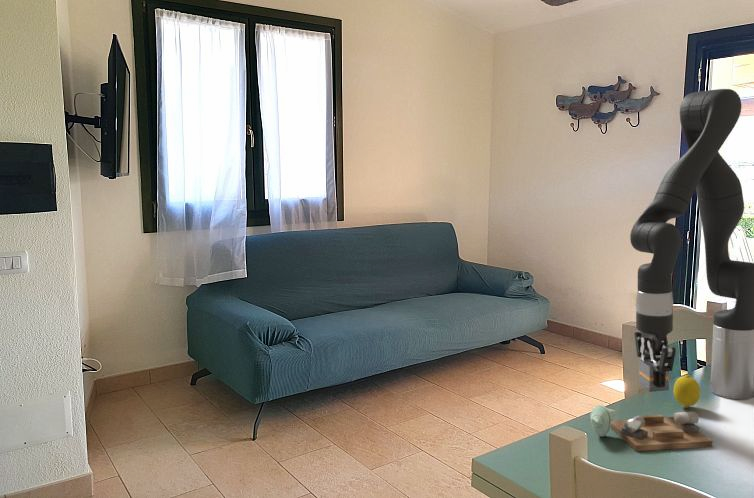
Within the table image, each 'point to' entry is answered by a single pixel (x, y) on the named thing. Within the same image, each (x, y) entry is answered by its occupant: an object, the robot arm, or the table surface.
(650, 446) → the wooden assembly base
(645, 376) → the grey striped block
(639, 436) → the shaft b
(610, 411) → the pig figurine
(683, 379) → the lemon
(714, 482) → the table surface
